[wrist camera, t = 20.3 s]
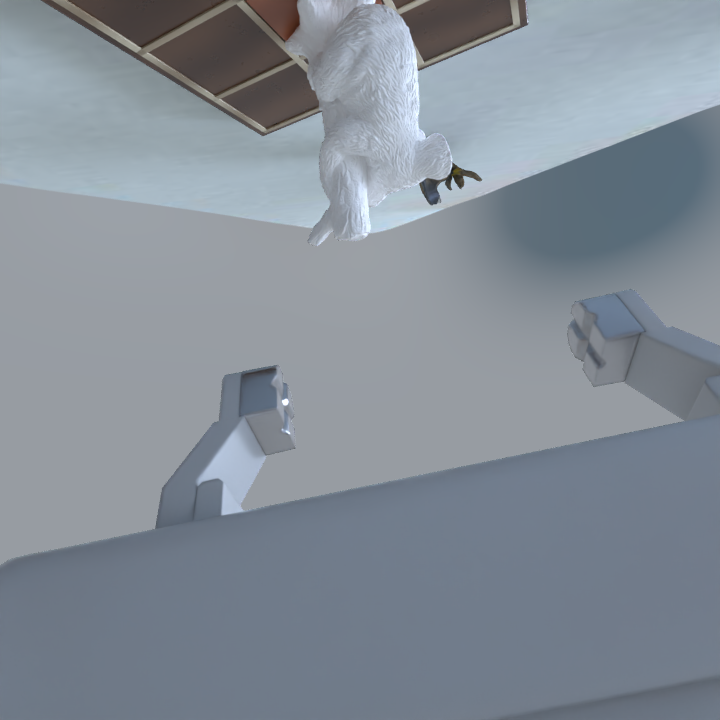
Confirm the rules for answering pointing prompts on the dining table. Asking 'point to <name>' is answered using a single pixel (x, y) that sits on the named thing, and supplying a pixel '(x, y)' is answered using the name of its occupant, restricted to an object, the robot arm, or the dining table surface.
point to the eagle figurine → (430, 185)
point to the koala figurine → (364, 110)
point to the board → (268, 45)
